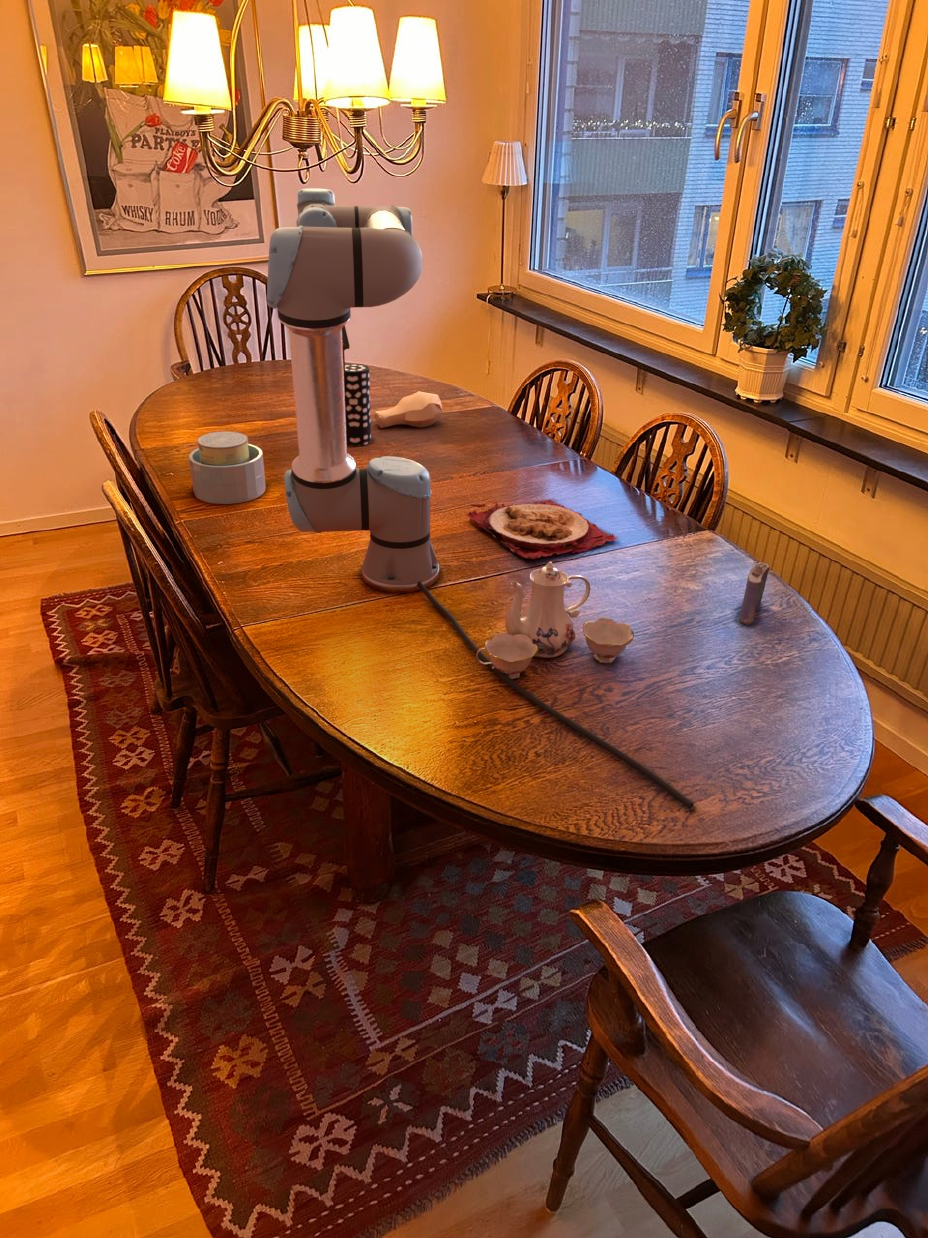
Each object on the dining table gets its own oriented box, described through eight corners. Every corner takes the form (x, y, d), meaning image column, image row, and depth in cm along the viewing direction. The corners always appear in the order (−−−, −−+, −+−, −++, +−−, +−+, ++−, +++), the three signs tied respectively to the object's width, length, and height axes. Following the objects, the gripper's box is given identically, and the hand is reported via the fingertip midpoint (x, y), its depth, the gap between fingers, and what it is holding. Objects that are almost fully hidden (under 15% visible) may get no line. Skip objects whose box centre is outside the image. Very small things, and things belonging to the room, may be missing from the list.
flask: (750, 626, 160) (762, 574, 154) (734, 622, 161) (745, 570, 155) (761, 605, 167) (773, 554, 161) (746, 601, 168) (757, 551, 162)
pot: (276, 495, 206) (273, 459, 201) (207, 509, 198) (202, 471, 194) (250, 472, 218) (247, 438, 213) (184, 485, 210) (179, 449, 205)
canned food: (213, 477, 213) (207, 429, 207) (258, 480, 212) (253, 432, 206) (196, 495, 203) (190, 445, 197) (244, 498, 203) (238, 448, 196)
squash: (449, 426, 253) (448, 398, 247) (383, 442, 248) (380, 413, 242) (436, 409, 261) (434, 382, 255) (372, 424, 256) (369, 396, 250)
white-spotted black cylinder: (377, 441, 240) (375, 368, 230) (354, 448, 235) (351, 373, 225) (357, 433, 245) (355, 361, 235) (334, 440, 240) (331, 367, 230)
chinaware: (495, 704, 140) (505, 621, 130) (454, 643, 152) (461, 562, 142) (642, 668, 150) (662, 588, 140) (593, 614, 162) (608, 537, 152)
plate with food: (528, 567, 178) (530, 552, 177) (464, 518, 197) (465, 504, 195) (619, 544, 189) (621, 530, 187) (549, 500, 208) (551, 486, 206)
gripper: (363, 279, 175) (366, 384, 186) (311, 260, 193) (317, 358, 204) (329, 282, 171) (334, 389, 182) (279, 263, 189) (287, 361, 200)
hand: (325, 373), depth 193 cm, fingers open, 13 cm apart
